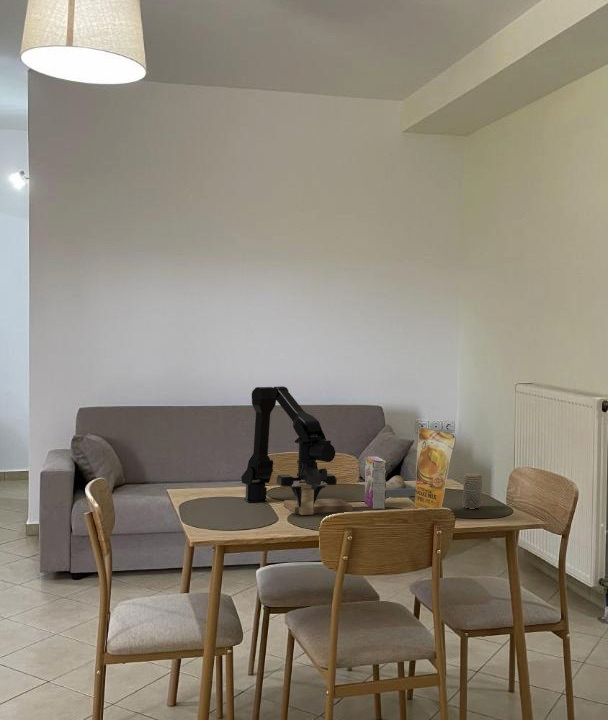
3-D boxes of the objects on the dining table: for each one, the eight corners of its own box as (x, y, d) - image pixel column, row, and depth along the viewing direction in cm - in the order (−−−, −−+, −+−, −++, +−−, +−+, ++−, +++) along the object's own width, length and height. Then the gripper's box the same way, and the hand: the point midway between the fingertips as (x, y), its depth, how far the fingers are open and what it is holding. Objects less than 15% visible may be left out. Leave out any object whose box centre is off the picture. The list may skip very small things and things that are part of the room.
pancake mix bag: (423, 509, 283) (426, 426, 283) (455, 521, 266) (458, 433, 265) (406, 510, 281) (408, 427, 280) (437, 522, 263) (440, 433, 263)
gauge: (301, 514, 267) (302, 490, 267) (292, 509, 275) (293, 485, 275) (313, 514, 268) (313, 489, 268) (304, 509, 276) (305, 484, 276)
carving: (460, 509, 285) (461, 474, 285) (464, 505, 292) (465, 471, 292) (479, 511, 283) (480, 476, 282) (482, 507, 290) (483, 473, 289)
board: (294, 513, 270) (294, 507, 270) (283, 506, 281) (283, 500, 281) (352, 511, 276) (352, 505, 276) (339, 504, 288) (339, 498, 288)
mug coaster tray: (381, 498, 302) (382, 489, 302) (366, 491, 315) (366, 483, 315) (419, 496, 306) (419, 488, 306) (402, 490, 320) (403, 482, 320)
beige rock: (373, 494, 310) (382, 470, 313) (395, 505, 312) (404, 481, 315) (381, 493, 303) (390, 468, 306) (403, 504, 305) (413, 479, 308)
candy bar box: (363, 502, 292) (364, 456, 291) (377, 502, 292) (378, 456, 292) (371, 509, 281) (372, 460, 280) (385, 509, 281) (387, 460, 281)
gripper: (287, 462, 258) (285, 512, 258) (343, 461, 264) (342, 510, 264) (276, 457, 268) (275, 505, 269) (331, 456, 274) (329, 503, 275)
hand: (305, 506), depth 269 cm, fingers closed on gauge, 4 cm apart
